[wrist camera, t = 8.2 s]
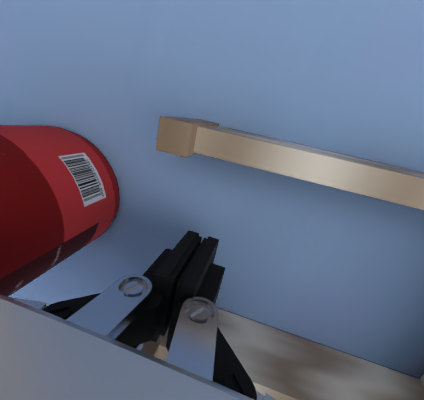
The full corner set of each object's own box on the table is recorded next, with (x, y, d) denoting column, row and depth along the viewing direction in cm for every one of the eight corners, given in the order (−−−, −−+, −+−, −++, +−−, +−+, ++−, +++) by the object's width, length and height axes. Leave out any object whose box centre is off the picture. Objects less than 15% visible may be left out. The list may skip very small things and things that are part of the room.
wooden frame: (589, 208, 10) (868, 280, 5) (427, 396, 15) (502, 523, 10) (198, 119, 13) (157, 115, 8) (166, 302, 17) (128, 367, 13)
